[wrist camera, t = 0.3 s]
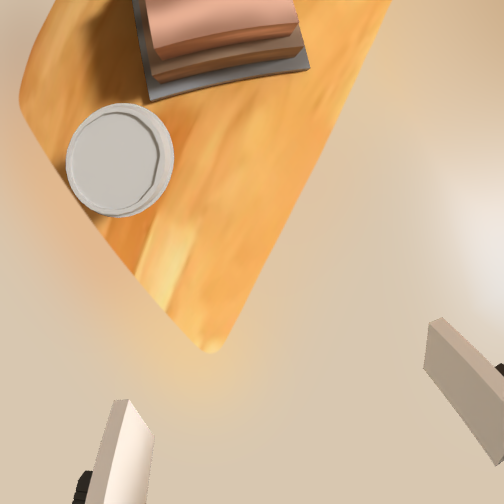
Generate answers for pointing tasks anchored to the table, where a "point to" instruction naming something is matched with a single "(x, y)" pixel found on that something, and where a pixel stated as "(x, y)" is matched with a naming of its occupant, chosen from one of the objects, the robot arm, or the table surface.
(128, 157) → the disposable coffee cup
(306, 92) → the table surface
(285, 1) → the pink brown stepped block
